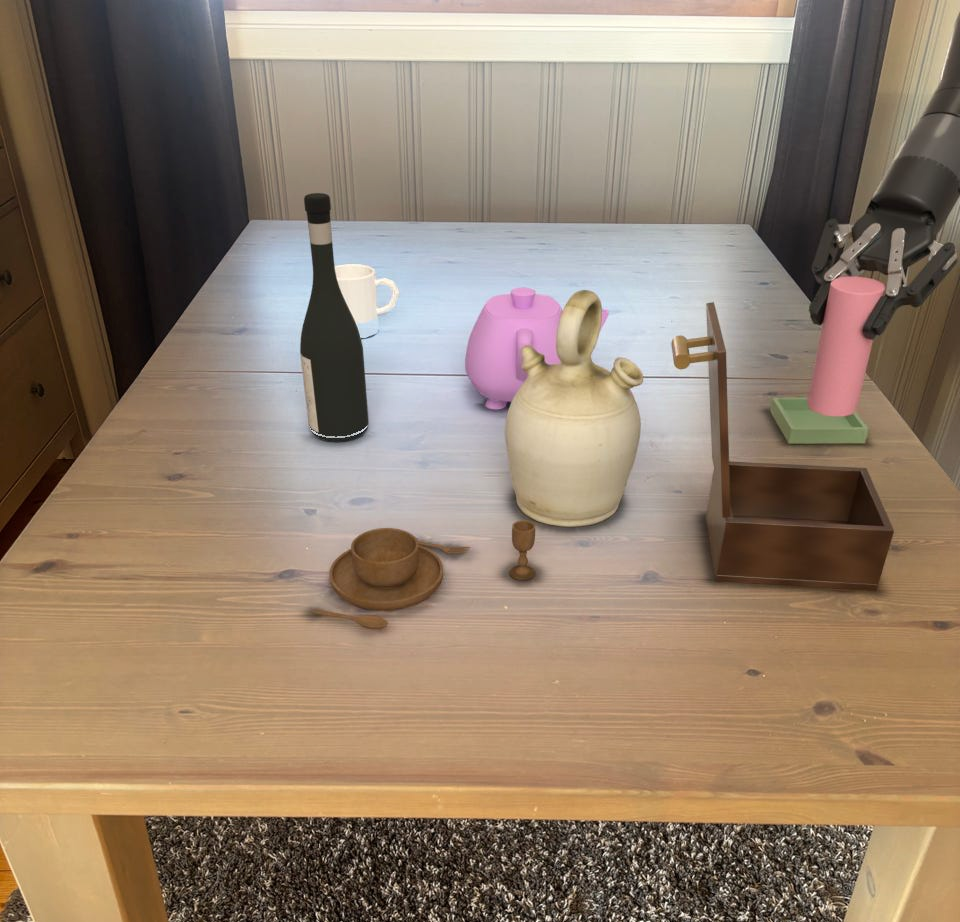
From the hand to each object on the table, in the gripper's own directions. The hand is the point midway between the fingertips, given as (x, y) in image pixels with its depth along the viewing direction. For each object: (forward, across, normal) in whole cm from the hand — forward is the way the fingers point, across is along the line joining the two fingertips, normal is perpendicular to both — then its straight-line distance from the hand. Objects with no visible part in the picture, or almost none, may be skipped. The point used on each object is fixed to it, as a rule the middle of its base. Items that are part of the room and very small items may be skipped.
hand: (841, 327), depth 98 cm
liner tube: (+5, 0, +8) cm, 9 cm away
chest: (+21, +2, +12) cm, 24 cm away
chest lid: (+13, -5, -4) cm, 15 cm away
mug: (+13, -84, +20) cm, 87 cm away
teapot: (+14, -46, +19) cm, 51 cm away
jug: (+27, -22, +5) cm, 35 cm away
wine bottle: (+32, -57, 0) cm, 65 cm away
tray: (-1, -12, +34) cm, 36 cm away
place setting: (+44, -20, -13) cm, 50 cm away
